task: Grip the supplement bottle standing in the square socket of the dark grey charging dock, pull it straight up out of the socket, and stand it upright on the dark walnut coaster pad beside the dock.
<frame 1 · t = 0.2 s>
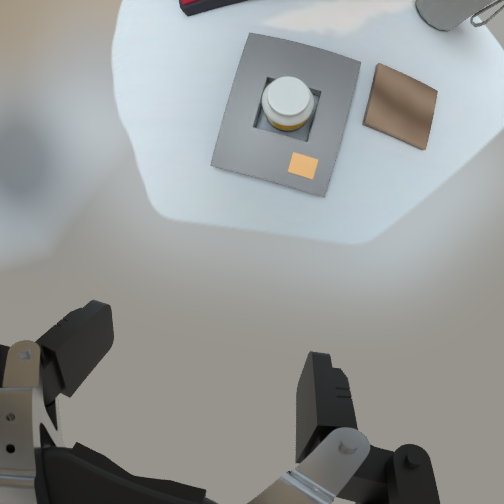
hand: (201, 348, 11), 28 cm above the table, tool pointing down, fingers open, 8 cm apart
water bottle: (438, 17, 25), on the table
supplement bottle: (287, 112, 33), resting in charging dock
charging dock: (287, 111, 33), on the table
coaster pad: (400, 106, 31), on the table
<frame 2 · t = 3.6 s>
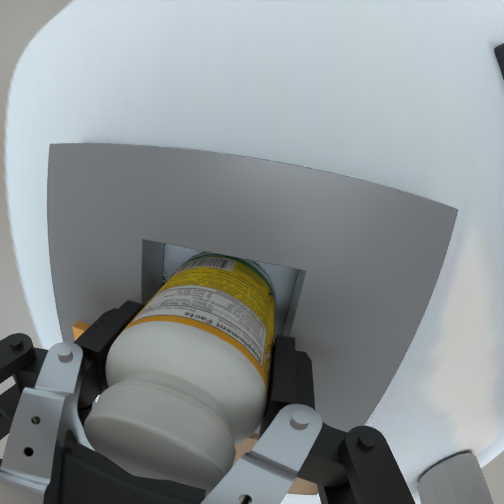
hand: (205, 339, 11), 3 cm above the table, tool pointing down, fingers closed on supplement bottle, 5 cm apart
water bottle: (438, 471, 19), on the table
supplement bottle: (224, 297, 15), resting in charging dock, touching gripper
charging dock: (223, 299, 14), on the table
coaster pad: (280, 460, 19), on the table
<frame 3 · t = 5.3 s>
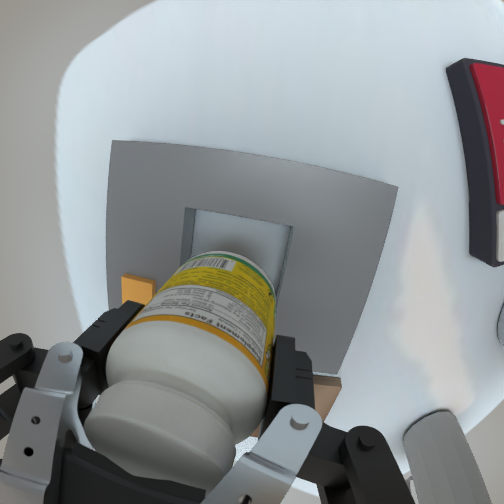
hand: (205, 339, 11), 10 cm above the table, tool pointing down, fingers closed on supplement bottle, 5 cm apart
water bottle: (422, 430, 25), on the table
supplement bottle: (224, 297, 15), point 6 cm above the table, touching gripper
charging dock: (236, 255, 20), on the table
coaster pad: (279, 404, 25), on the table
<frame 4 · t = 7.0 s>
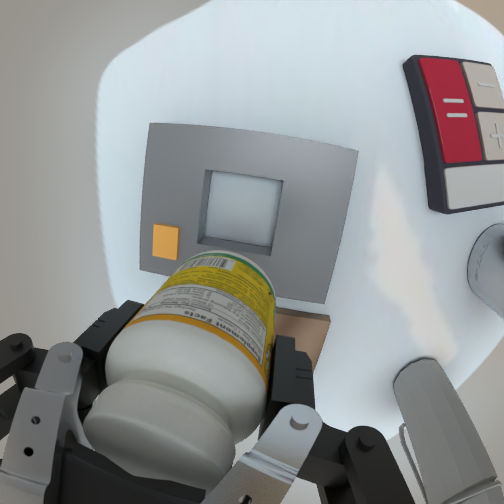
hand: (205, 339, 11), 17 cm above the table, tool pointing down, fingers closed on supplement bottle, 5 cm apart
water bottle: (411, 380, 31), on the table
supplement bottle: (224, 297, 15), point 14 cm above the table, touching gripper
calculator: (458, 132, 22), on the table
charging dock: (242, 208, 27), on the table
coaster pad: (279, 343, 31), on the table
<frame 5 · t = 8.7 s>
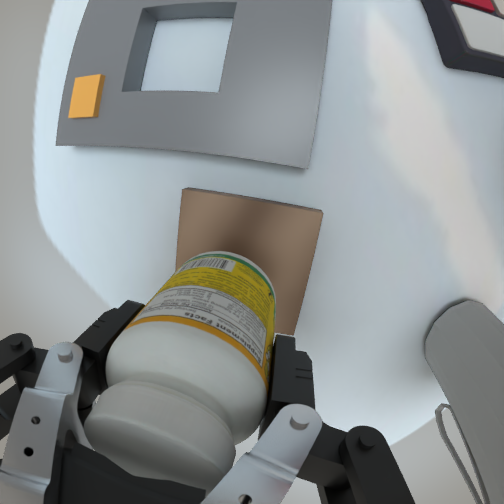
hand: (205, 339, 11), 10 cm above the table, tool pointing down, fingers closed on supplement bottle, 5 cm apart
water bottle: (447, 339, 21), on the table
supplement bottle: (224, 298, 15), point 6 cm above the table, touching gripper
calculator: (462, 2, 12), on the table
charging dock: (188, 55, 16), on the table
coaster pad: (243, 261, 20), on the table
when the fingers open (6 cm above the table, at t = 10.4 s): supplement bottle drops 1 cm, resting on coaster pad.
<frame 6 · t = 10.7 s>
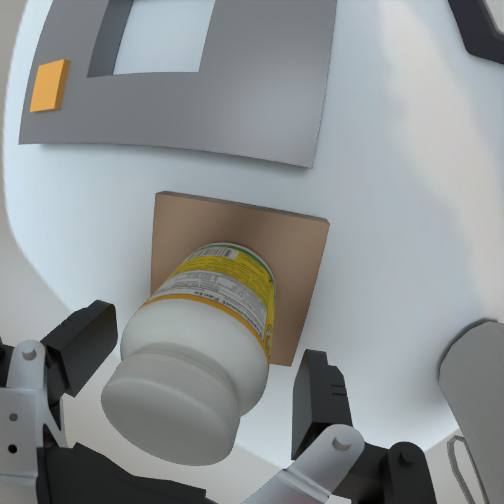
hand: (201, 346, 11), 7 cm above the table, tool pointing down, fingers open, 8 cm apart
water bottle: (463, 362, 17), on the table
supplement bottle: (227, 286, 16), point 1 cm above the table, touching coaster pad
charging dock: (167, 34, 13), on the table
coaster pad: (231, 280, 17), on the table
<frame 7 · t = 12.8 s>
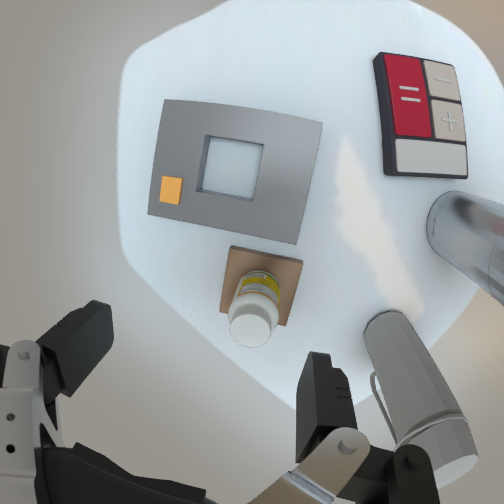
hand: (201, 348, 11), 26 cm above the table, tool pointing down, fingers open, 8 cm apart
water bottle: (381, 333, 38), on the table
supplement bottle: (259, 288, 37), point 1 cm above the table, touching coaster pad
calculator: (417, 117, 29), on the table
charging dock: (232, 167, 33), on the table
coaster pad: (259, 285, 38), on the table
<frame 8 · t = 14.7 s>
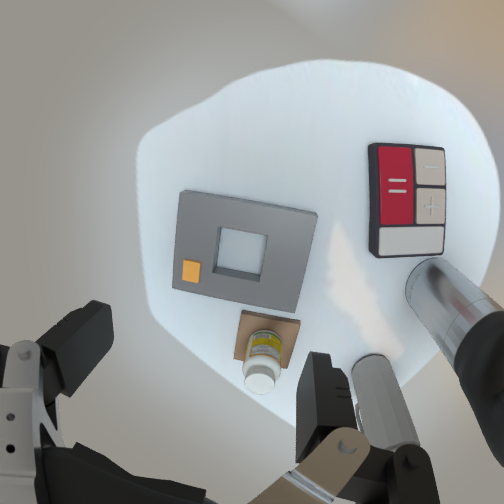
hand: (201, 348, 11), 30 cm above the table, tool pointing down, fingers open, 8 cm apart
water bottle: (366, 371, 46), on the table
supplement bottle: (265, 342, 44), point 1 cm above the table, touching coaster pad
calculator: (403, 198, 37), on the table
charging dock: (241, 249, 41), on the table
coaster pad: (266, 338, 45), on the table
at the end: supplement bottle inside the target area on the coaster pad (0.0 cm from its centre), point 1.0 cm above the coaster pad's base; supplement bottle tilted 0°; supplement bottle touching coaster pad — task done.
